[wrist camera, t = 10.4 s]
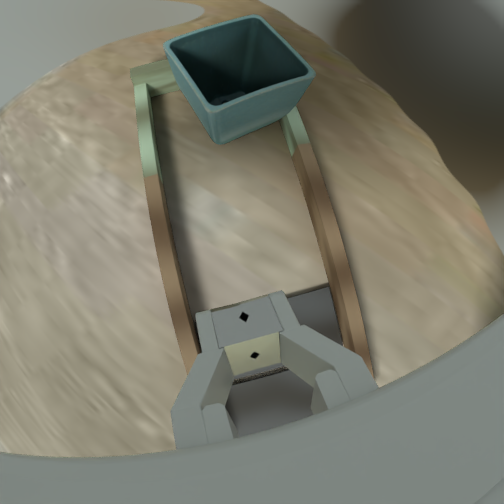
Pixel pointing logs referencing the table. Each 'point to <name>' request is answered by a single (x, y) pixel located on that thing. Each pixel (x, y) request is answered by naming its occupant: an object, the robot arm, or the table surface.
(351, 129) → the table surface
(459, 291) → the table surface
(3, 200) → the table surface
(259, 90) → the flower pot
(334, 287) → the channel
